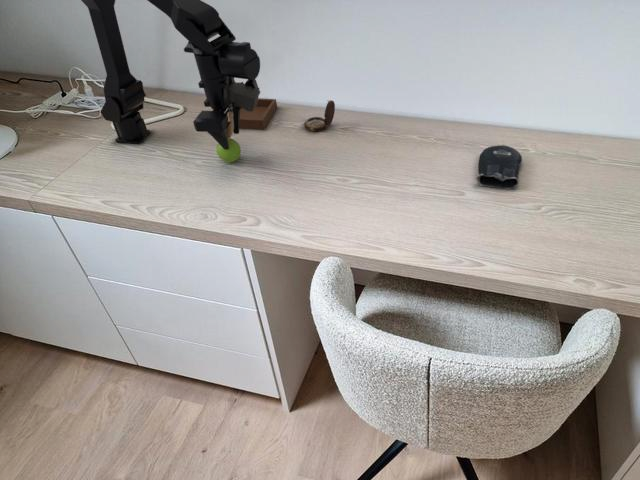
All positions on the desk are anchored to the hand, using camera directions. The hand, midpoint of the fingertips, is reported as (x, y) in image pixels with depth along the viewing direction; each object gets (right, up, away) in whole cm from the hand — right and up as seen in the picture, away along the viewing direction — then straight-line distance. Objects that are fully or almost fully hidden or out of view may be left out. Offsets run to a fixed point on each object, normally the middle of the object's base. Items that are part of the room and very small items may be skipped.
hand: (231, 141), depth 114 cm
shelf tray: (0, +11, +19) cm, 22 cm away
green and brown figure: (-1, -4, +3) cm, 5 cm away
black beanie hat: (+61, -7, -2) cm, 62 cm away
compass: (+19, +7, +14) cm, 24 cm away
